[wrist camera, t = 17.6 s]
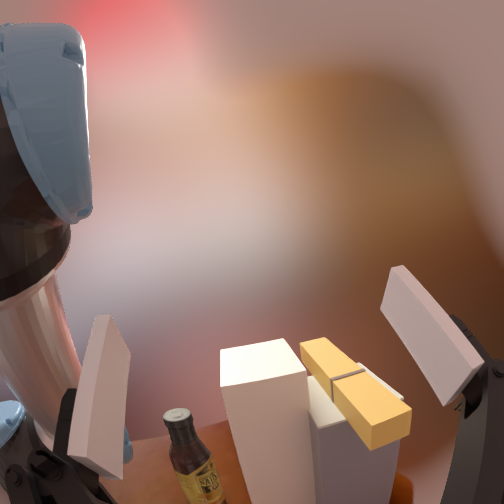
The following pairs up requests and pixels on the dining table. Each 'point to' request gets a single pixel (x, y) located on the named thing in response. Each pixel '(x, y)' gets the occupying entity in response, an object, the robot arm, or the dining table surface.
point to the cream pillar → (270, 421)
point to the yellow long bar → (357, 394)
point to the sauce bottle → (192, 460)
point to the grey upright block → (347, 455)
